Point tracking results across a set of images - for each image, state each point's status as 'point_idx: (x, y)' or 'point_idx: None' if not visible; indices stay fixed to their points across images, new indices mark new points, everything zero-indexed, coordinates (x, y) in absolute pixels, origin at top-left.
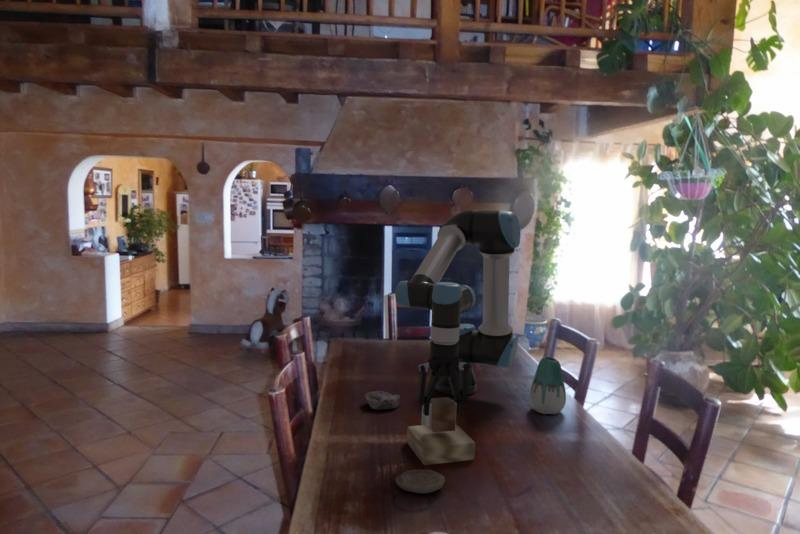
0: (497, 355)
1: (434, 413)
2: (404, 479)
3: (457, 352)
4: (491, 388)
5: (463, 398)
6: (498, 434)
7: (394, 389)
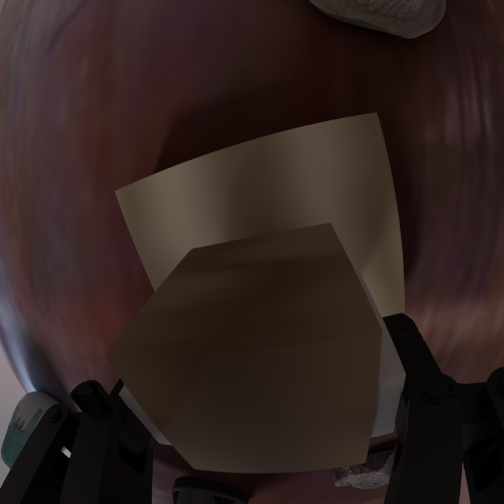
0: None
1: (355, 281)
2: None
3: None
4: (152, 479)
5: (63, 415)
6: (99, 347)
7: (323, 495)
